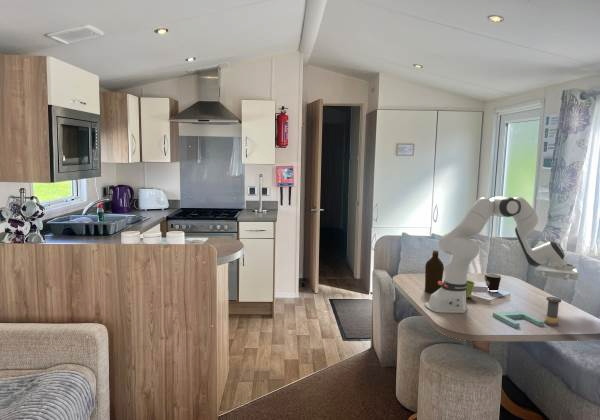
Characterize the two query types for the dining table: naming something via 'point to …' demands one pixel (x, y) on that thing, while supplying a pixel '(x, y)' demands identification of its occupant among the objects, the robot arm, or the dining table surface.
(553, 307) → the door knob
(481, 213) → the robot arm
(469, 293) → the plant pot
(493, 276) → the coffee mug
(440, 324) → the dining table surface
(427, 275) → the olive oil
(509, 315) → the notched board
